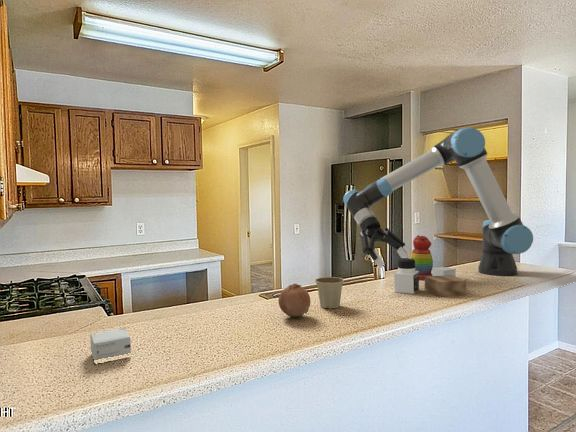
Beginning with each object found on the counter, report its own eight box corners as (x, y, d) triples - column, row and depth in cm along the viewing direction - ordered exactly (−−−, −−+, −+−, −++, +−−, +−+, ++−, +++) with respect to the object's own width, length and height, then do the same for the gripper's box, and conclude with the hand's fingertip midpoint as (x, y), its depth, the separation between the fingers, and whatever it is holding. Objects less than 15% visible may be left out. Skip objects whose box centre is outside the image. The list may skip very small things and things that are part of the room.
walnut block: (450, 288, 150) (450, 275, 150) (465, 294, 141) (465, 280, 140) (424, 290, 149) (424, 276, 149) (438, 296, 139) (438, 282, 139)
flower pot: (350, 305, 131) (350, 279, 130) (333, 312, 124) (332, 284, 123) (327, 301, 137) (326, 275, 137) (309, 307, 130) (308, 280, 130)
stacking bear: (438, 280, 165) (438, 236, 164) (413, 280, 165) (413, 237, 164) (430, 275, 175) (429, 234, 174) (406, 275, 176) (406, 234, 175)
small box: (93, 366, 89) (92, 343, 88) (90, 354, 95) (89, 333, 95) (131, 358, 93) (130, 336, 92) (126, 347, 99) (125, 327, 99)
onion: (294, 311, 126) (294, 279, 126) (317, 316, 120) (316, 283, 119) (272, 318, 120) (271, 284, 119) (295, 324, 113) (294, 289, 112)
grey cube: (444, 281, 163) (443, 266, 162) (455, 284, 157) (455, 269, 157) (432, 283, 160) (432, 268, 160) (443, 286, 155) (443, 270, 154)
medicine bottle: (414, 294, 143) (413, 260, 142) (394, 292, 147) (393, 259, 146) (419, 290, 149) (419, 257, 148) (399, 288, 153) (399, 256, 152)
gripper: (385, 226, 172) (413, 266, 160) (338, 229, 159) (365, 274, 147) (394, 214, 167) (424, 254, 155) (347, 216, 154) (375, 261, 142)
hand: (395, 264), depth 151 cm, fingers open, 13 cm apart
